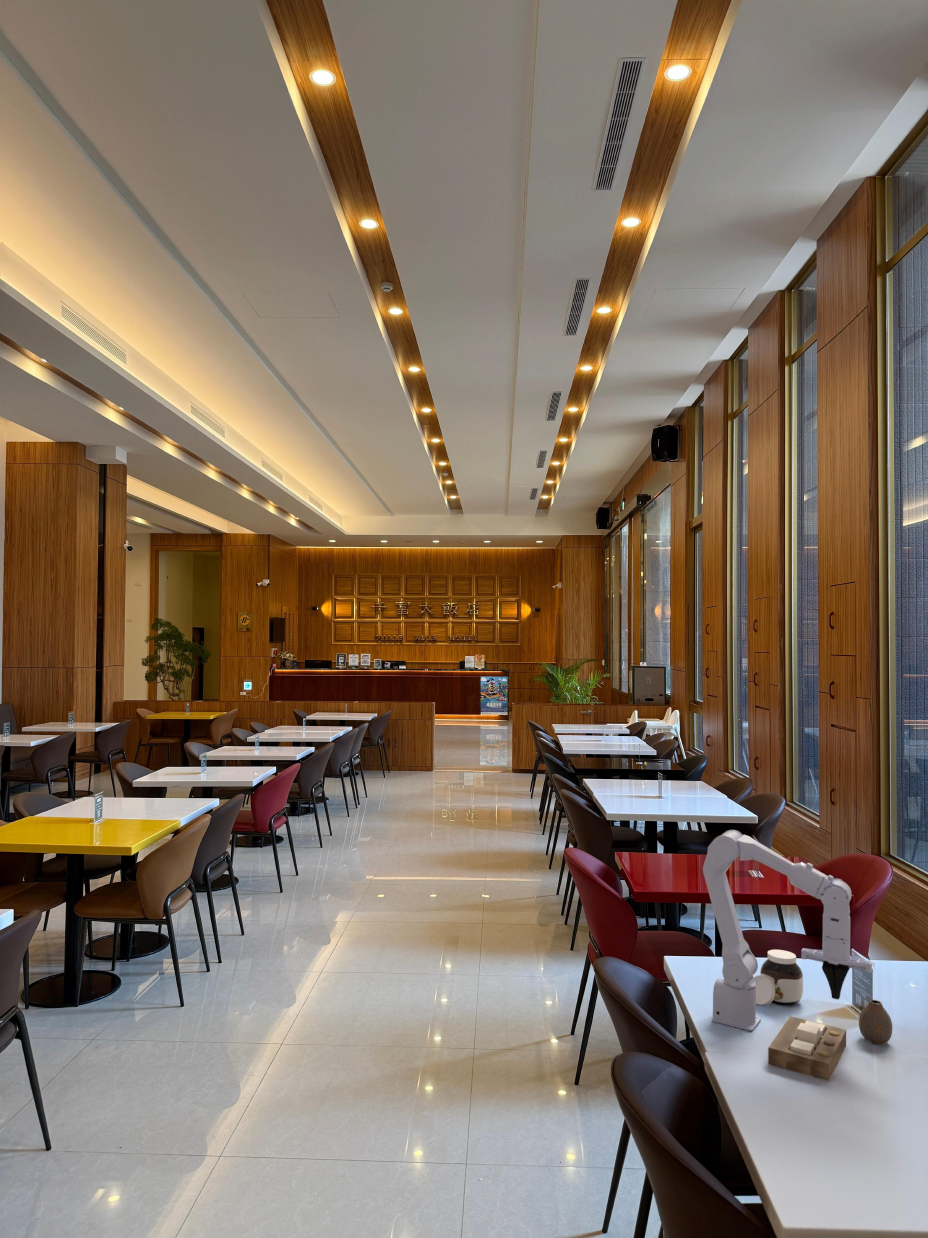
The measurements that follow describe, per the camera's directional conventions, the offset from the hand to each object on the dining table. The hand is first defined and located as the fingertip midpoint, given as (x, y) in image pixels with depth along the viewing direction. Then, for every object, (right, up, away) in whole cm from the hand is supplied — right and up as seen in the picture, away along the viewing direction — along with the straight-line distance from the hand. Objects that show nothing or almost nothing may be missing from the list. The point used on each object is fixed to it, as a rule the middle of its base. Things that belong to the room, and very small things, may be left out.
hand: (835, 997), depth 189 cm
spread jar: (-5, -12, +23) cm, 26 cm away
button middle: (-9, -8, -6) cm, 13 cm away
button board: (-9, -10, -6) cm, 14 cm away
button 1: (-12, -9, -11) cm, 19 cm away
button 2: (-5, -10, -1) cm, 11 cm away
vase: (+10, -11, +2) cm, 15 cm away
